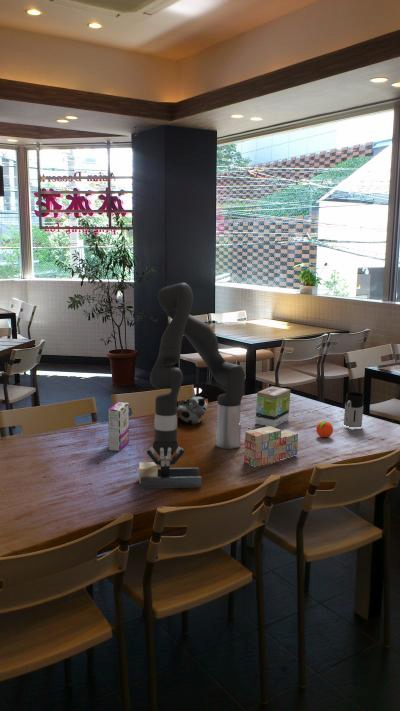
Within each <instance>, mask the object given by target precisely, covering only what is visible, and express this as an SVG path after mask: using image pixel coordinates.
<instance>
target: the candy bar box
mask: <svg viewBox="0 0 400 711" xmlns="http://www.w3.org/2000/svg"><path fill="white" fill-rule="evenodd" d="M129 407H130V406H129V402H125V401H124V402H121V401H117V402H116V403H115V404H114V405H113V406H111V407H110V408H108V409H107V411H108V413H107V416H108V417H107V418H108V419H107V420H108V422H107V425H108V451H112V452H113V451H114V452H121V451H123V449H124V448H125V446H126V445H128V444H129V443H130V425H129V424H130V423H129V422H130V413H129V412H130V409H129Z"/></svg>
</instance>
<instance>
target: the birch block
mask: <svg viewBox="0 0 400 711" xmlns="http://www.w3.org/2000/svg"><path fill="white" fill-rule="evenodd" d="M138 465H139V466H138V473H139V474H138V482H139V483H138V484H140V483H141V477H158V468H159V467H158V465H156V464H155V462H154V461H148V462H147V461H144V462H143V461H141V462H138Z"/></svg>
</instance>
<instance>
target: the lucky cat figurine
mask: <svg viewBox="0 0 400 711" xmlns="http://www.w3.org/2000/svg"><path fill="white" fill-rule="evenodd" d="M208 400H209V398H205V397H202V396H193V397H191V398H190V399H189V401H188V400H187V399H184V401H183V404H180V405H177V418H179V419H181V421H183V422H186V423H187V424H189V423H190V425H196V424H199V423H200V422H201V420H202V417H203V416H204V415H205V414H206V413H207V408H208V405H209V401H208Z"/></svg>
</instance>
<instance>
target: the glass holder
mask: <svg viewBox="0 0 400 711" xmlns="http://www.w3.org/2000/svg"><path fill="white" fill-rule="evenodd" d="M364 397H365V395H364V393H361V392H358V391H355V392H354V391H350V392H346V395H345V403H344V414H343V416H344V417H343V424H344V425H346V426H349V427H361V426H362V427H363V414H364V401H365V400H364Z"/></svg>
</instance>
